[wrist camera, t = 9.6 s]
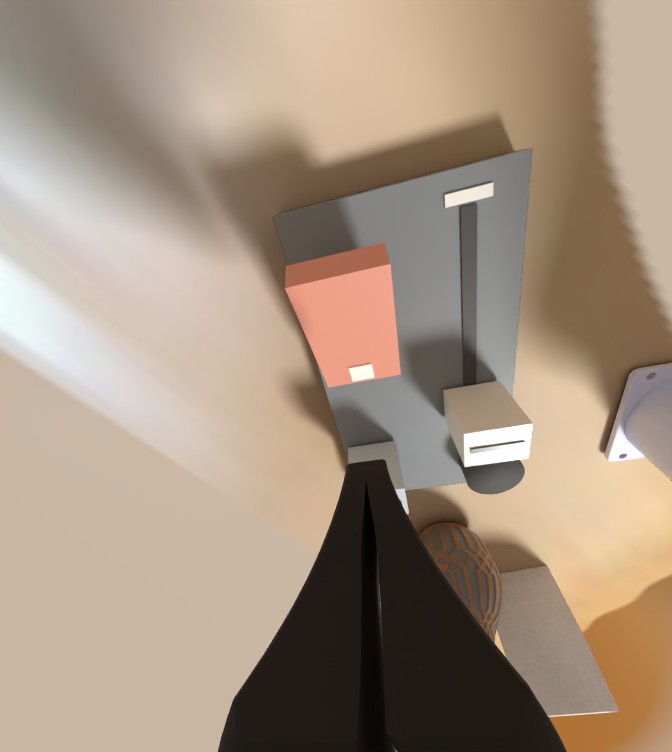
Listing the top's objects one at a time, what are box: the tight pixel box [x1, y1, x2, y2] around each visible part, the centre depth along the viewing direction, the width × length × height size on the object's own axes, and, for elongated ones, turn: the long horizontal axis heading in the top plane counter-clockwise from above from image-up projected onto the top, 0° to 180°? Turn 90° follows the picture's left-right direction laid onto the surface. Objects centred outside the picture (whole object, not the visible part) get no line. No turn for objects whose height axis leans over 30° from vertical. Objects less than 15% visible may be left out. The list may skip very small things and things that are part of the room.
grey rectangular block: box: [497, 565, 619, 717], centre depth 29 cm, size 4×7×10 cm, turn 114°
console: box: [273, 148, 532, 491], centre depth 19 cm, size 11×20×2 cm, turn 13°
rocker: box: [285, 243, 401, 387], centre depth 15 cm, size 4×7×2 cm, turn 13°
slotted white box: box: [348, 441, 409, 514], centre depth 20 cm, size 3×2×4 cm
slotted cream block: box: [443, 381, 533, 467], centre depth 17 cm, size 3×2×4 cm
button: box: [459, 457, 525, 494], centre depth 21 cm, size 4×4×2 cm
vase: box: [419, 522, 503, 644], centre depth 26 cm, size 7×7×9 cm
